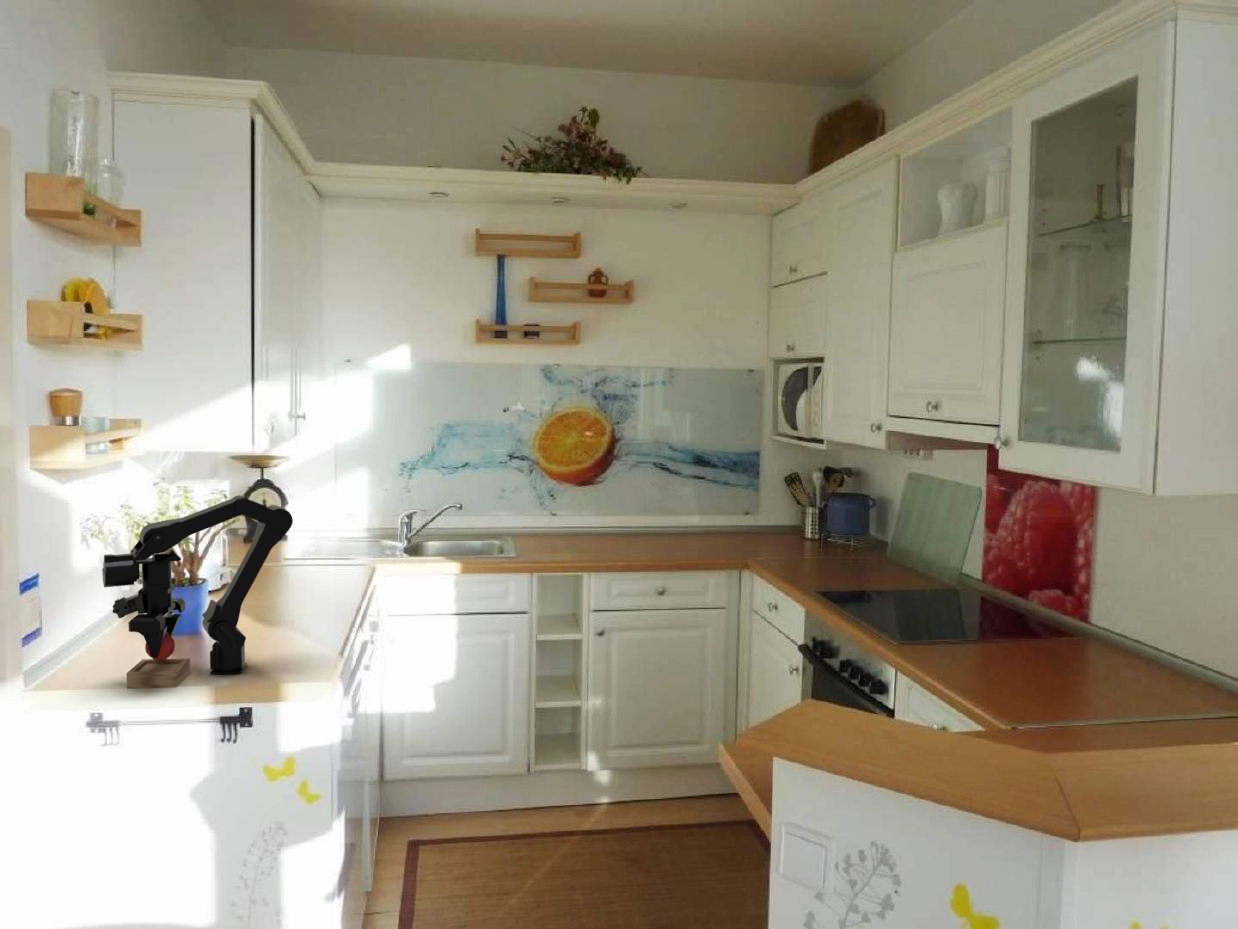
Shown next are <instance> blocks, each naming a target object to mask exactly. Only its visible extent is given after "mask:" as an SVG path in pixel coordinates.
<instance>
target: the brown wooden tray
mask: <svg viewBox="0 0 1238 929" xmlns="http://www.w3.org/2000/svg"><path fill="white" fill-rule="evenodd" d="M190 673H191V658H167V659H165V660H164V661H163V662H161V663H158V662H157V661H155V660H154V659H153V658H146V659H145V658H143V659H141V660H139V662H137V664H135V665H134V666H133V667H132V668H131V669H130V670H128V671H127V672H126V688H127V689H135V688H137V689H141V688H142V689H143V688H177V687H178V686H179V685H180V684H181V683H182V682H183V681H184V680H185V679H186V678H187V676H189V674H190Z"/></svg>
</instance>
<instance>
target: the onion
mask: <svg viewBox="0 0 1238 929" xmlns="http://www.w3.org/2000/svg"><path fill="white" fill-rule="evenodd" d="M172 636H173V635H172ZM172 636H171V635H170V634H169V633H168V632H166V633H165V636H164V639H163V642H162V645H161V648H160V651H159V654H158V657H156V658H152V657H151V654H150V651H149V649H148V646H147V643H146V642H145V647H144V649H145V653H146V654H147V655H148V656H149V657H150V659H154V660H155V661H157V662H158V663H161V662H163V661H164V660H165V659H169V657H171V655H173V654H174V651H175V649H176V645H175V639H174V638H173V637H172Z"/></svg>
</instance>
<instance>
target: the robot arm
mask: <svg viewBox="0 0 1238 929" xmlns="http://www.w3.org/2000/svg"><path fill="white" fill-rule="evenodd" d="M239 516H245V517H247V518H250V519H252V520H253V521H257V524H256V527H255V528H256V529H255V534H254V538H253V541H252V543H251V544H250V546H249V549H248V550H247V551H246V553H245V555H244V557H243V559H242V560H241V562H240V565H239V567H238V568H237V570H236V572H235V574H234V575H233V577H232V580H231V581H230V583H229V585H228V587H227V588H226V590H225V592H224V594H223V595H222V597H221V598H220V599H218V600H217V601H215V600H214V599H210V600H209V603H208V605H207V608H206V610H205V611H204V612H203V613H202V614H201V616H202V617H203V619H202V628H203V629H204V631H205V632H206V634H207V635H208V636H209V637H210V638H211V639H212V640H213V641H215V642H214V643H213V644H212V646H211V647H212V648H211V650H210V652H209V660H210V661H209V669H210V670H211V671H210V675H229V674H230V675H233V674H235V675H237V674H242V673H243V671H244V670H245V668H246V667H247V666H248V663H246V656H245V655H246V651H245V649H246V645H245V644H246V639H247V637H246V636H245V634H243V632H242V631H241V630H240V629H239V628H238V627H237V625H238V624H239V623H238V622H239V620H240V619H239V618H240V614H241V609H242V604H243V603H244V601H245V599H246V597H247V595H248V593H249V592H250V590H251V588H252V586H253V584H254V582H255V581H256V578H257V577H258V575H259V573H260V571H261V570H262V567H263V566H264V564H265V562H266V560H267V558H268V556H269V554H270V553H271V550H272V549H273V548H274V547H275V546H276V545H277V544H278V543H279V542H280V541H282V539H283V538H285V536H286V534H287V533H288V532H289V530H290V529H291V527H292V526H293V523H294V520H293V516H292V513H291V512H289V510H287V509H285V508H283V507H282V506H279V505H275V504H274V505H268V506H267V505H265V504H263V503H259V502H257V501H255V500H251V499H250V498H248V497H246V496H244V495H235V496H233V497H232V498H231V499H227V500H225V501H223V502H220V503H217V504H214V505H212V506H210V507H207V508H204V509H202V510H199V511H196V512H194V513H191V514H189V515H186V516H183V517H179V518H175V519H173V518H172V519H166V520H161V521H155V522H152V523H148V524H146V525H145V526H143V528H142V529H141V531H140V533H139V539H138V541H137V542H136V543H135V545H134V546H133V547H132V549H131V550H130V552H129V553H121V554H120V553H119V554H112V553H111V554H109V553H108V554H103V562H102V563H103V564H102V566H103V567H102V570H101V573H102V576H101V577H102V584H103V585H102V586H103V588H113V587H125V586H134V585H135V582H138V580H140V576H141V577H142V578H141V580H142V581H141V582H142V588H140V589H139V590H138V591H137V594H134V595H132V596H129V597H125V596H124V597H121V598H120V599H119V598H117V599H116V600H114V604H113V605H112V614H115V615H116V616H117V618H118V619H122V618H125V616H128V615H131V614H133V613H137V614H136V615H135V616H134V617H133V618H131V620H129V622H128V632H130V633H139V634H140V635H142V637H143V638H144V640H145V644H146V643H147V646H148V649H149V651H150V654H151V657H152V658H151V657H150V658H151V659H153V658H156V657H158V654H159V651H160V648H161V645H162V642H163V639H164V636H165V633H166V632H168V633H169V634H170V635H171V636H173V634H174V632H175V629H176V627H177V625H178V623H179V621H180V618H181V617H182V613H183V612H185V610H186V601H185V600H184V599H183V598H181V597H173V591H174V590H175V589H176V587H175V584H174V583H173V582H172V562H180V561H182V557H181V556H180V555H179V554H177V553H176V552H175V551H174V550H173V547H175V546H177V545H179V544H180V543H181V542H182V541H184V540H185V539H186V538H188V537H190V536H192V535H194V534H196V533H200V532H202V531H204V530H207V529H209V528H212V527H214V526H217V525H219V524H221V523H225V522H227V521H229V520H232V519H234V518H237V517H239ZM166 551H167V552H166ZM140 565H141V573H140ZM175 611H178V613H175ZM180 613H181V614H180Z"/></svg>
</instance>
